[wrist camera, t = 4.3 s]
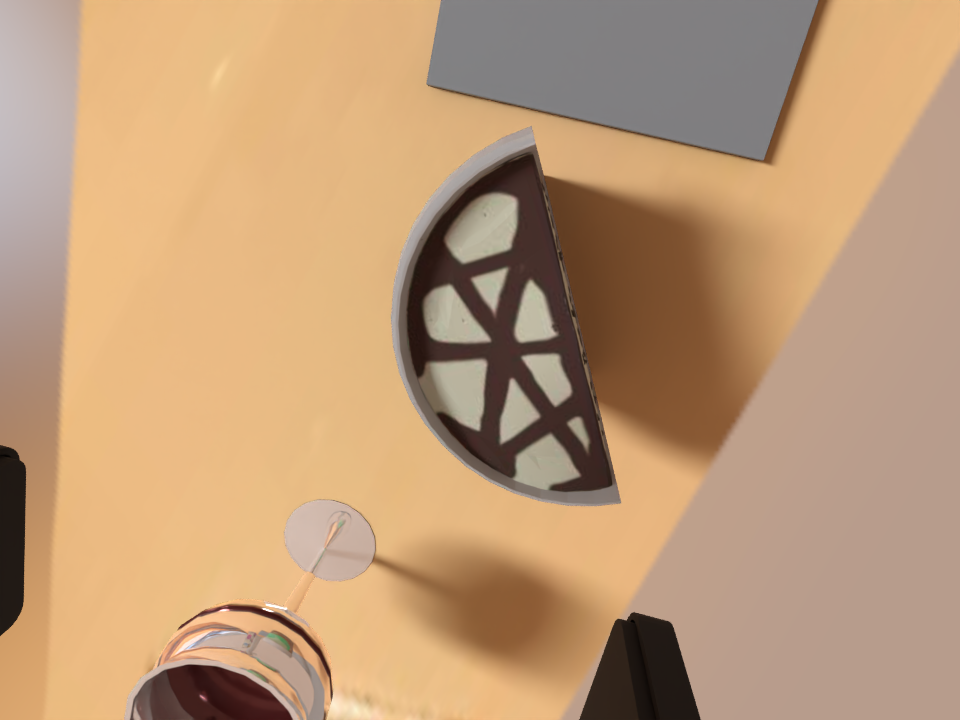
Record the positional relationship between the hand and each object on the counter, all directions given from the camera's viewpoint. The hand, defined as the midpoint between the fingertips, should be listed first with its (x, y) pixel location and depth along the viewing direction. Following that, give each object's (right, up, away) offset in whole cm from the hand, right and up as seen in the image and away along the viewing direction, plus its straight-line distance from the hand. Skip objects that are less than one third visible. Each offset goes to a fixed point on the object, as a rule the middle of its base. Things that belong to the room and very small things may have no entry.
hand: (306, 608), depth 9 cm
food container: (+4, +7, +19) cm, 20 cm away
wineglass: (-5, -6, +24) cm, 25 cm away
